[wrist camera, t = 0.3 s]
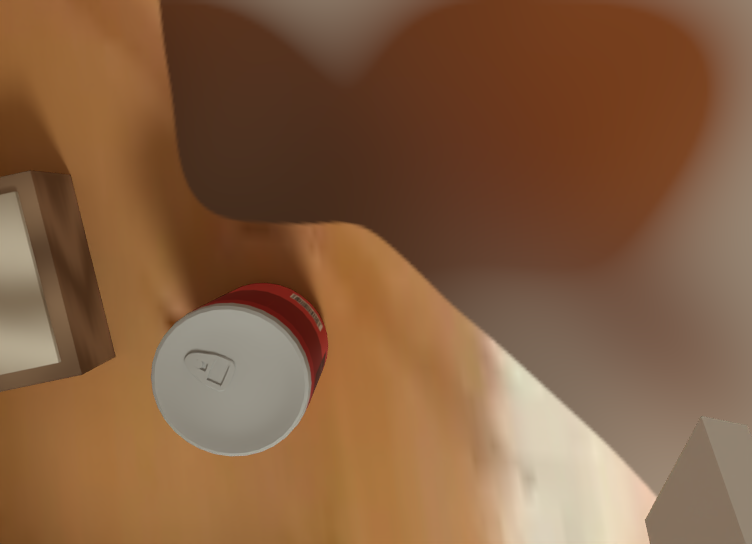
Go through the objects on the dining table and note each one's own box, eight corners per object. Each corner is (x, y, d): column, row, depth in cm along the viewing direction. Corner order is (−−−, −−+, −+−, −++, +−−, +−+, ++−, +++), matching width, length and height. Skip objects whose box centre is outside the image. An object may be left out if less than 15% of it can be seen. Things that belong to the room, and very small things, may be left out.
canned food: (215, 272, 45) (159, 292, 34) (338, 291, 45) (321, 318, 34) (199, 388, 46) (139, 444, 35) (320, 407, 46) (298, 469, 35)
